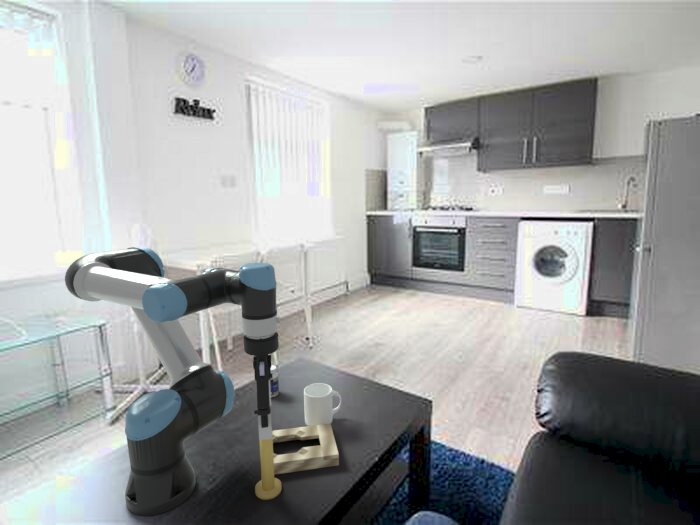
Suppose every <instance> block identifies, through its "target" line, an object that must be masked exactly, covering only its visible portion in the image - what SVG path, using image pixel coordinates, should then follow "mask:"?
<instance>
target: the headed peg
mask: <svg viewBox="0 0 700 525" xmlns="http://www.w3.org/2000/svg"><path fill="white" fill-rule="evenodd" d="M258 440H259V439H258ZM273 453H274V443H273V437H272V439H265V440H259V457H260V458H259V459H260V472H261V473H260V476H261V477H260V478H261V479H260V480H259V481H257V483H256V484H255V486H254V492H255V496H256V497H257V498H258V499H260V500H262V501H268V500H273V499H275V498H276V497H278V496H279V495H281V492H282V481H281V480H280V479H279V478H277V477H275V475H274V458H273Z"/></svg>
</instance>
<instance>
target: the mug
mask: <svg viewBox="0 0 700 525" xmlns="http://www.w3.org/2000/svg"><path fill="white" fill-rule="evenodd" d="M333 397H338V398H339V404H338V406H337V407H335V408H333ZM341 404H342V396H341V394H340V392H338V391H337V390H333V388H332V386H331V385H329V384H327V383H322V382H317V383H311V384H308V385H307V386H305V387H304V388H303V405H304V406H303V407H304V408H303V409H304V413H303V414H304V423H305V426H314V425H322V424H331V425H332V423H333V415H334V414H336V413H338V412H339V410H340V408H341Z"/></svg>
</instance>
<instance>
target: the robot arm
mask: <svg viewBox="0 0 700 525" xmlns="http://www.w3.org/2000/svg"><path fill="white" fill-rule="evenodd" d="M164 267H165V266H164V262H163V261H162V258H161V257H160V255H159V254H157V252H156V251H155V250H153V249H151V248H149V247H145V246H142V247H141V246H140V247H139V246H138V247H134V246H131V247H127V248H125V249H124V248H123V249H116V250H109V251H101V252H92V253H88V254H86V255H82V256H81V257H79V258H77V259H76V260H74V261H73V262H72V263H71V264H70V265H69V267H68V268H67V270H66V271H65V276H64V282H65V287H66V288H67V290H68V292H69V293H70V294H71V295H73V296H74V297H76V298H78V299H79V300H83V301H87V302H99V301H100V302H101V301H107V302H110V303H114V304H118V305H123V306H126V307H130V308H131V309H132V311H133V313H134V315H135V317H136V319H137V321H138V322H139V325H140V326H141V328H142V329H143V331H144V333H145V335H146V337H147V339H148V341H149V342H150V344H151V346H152V348H153V350H154V351H155V353H156V355H157V357H158V359H159V361H160V362H161V365H162V367H163V368H164V370H165V371H166V373H167V375H168V377H169V379H170V383H169V387H168V388H166V389H159V390H158V391H156V390H154V391H151V392H148V393H146V394H144V395H142V396H141V397H139V398H138V399H136V400H135V401H133V403H131V405H130V406H129V407H128V408H127V411H126V414H125V417H124V419H125V420H124V424H125V426H124V432H125V436H126V441H127V449H128V450H127V451H128V456H129V458H128V459H129V464H130V472H129V475H128V479H127V483H126V486H125V488H126V489H125V492H124V493H125V495H124V497H125V505H126V507H127V508H126V509H128V511H130V512H131V513H132V514H135V515H138V516H143V517H144V516H146V515H147V516H148V515H149V516H155V514H156V515H160V514H163V513H165V512H168V511H171V510H173V509H175V508H177V507H179V506H180V505H181V504H182V503H183V502H185V501H186V500H187V499H188V498H189V497H190V496H191V495H192V493H193V491H194V490H195V488H196V483H197V482H196V480H197V479H196V472H195V470H194V468H193V466H192V464H191V461H190V460H189V459H188V456H187V455H186V448H185V442H186V441H187V440H188V439H190V438H191V437H193V436H194V435H196V434H198V433H199V432H202V430H204V429H205V428H207V427H209V426H211V425H212V424H214V423H216V422H218V421H220V420H221V419H222V418H223V417H225V416H226V415H227V414H229V413H230V411H232V409H233V408H234V404H235V398H236V393H235V390H236V389H235V386H234V383H233V380H232V379H231V378H230V376H229V375H228V374H227V373H226V372H224V371H222V370H215V369H214V368H213V366H212V364H211V363H207V362H203V361H202V359H201V357H200V355H199V354H198V352H197V350H196V349H195V347H194V345H193V344H192V342H191V340H190V338H189V337H188V334H187V333H186V331H185V329H184V328H183V326H182V324H181V323H180V321H179V319H180V318H183V317H186V316H189V315H192V314H196V313H199V312H201V311H204V310H207V309H210V308H211V309H212V308H214V307H217V306H220V305H223V304H232V305H238V306H240V307H241V324H242V335H243V350H244V352H245V353H246V355H250V356H253V360H252V366H253V370H254V371H253V373H254V380H255V382H256V401H257V402H256V403H257V404H256V405H257V406H256V408H257V409H256V410H254V412H253V413H254V415H257V427H258V440H265V439H272V431H273V426H272V410H271V406H272V397H271V389H270V379H271V378H272V374H271V365H272V354H273V353H275V352H277V350H279V347H280V345H279V343H280V342H279V333H278V329H279V327H278V322H281V318H280V317H279V316H278V311H277V310H278V308H277V281H276V280H277V279H276V272H275V267H274V266H273V265H272V264H271V263H268V262H250V263H244V264H242V265H241V266H239V269H238V270H236V269H229V268H224V267H210V268H207V269H205V270H204V271H203V272H202V273H201V274H198V275H193V276H189V277H185V278H184V277H183V278H180V279H179V278H178V279H175V278H167V277H165V274H166V272H165V269H164ZM149 516H148V517H149Z"/></svg>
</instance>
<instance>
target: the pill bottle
mask: <svg viewBox="0 0 700 525" xmlns="http://www.w3.org/2000/svg"><path fill="white" fill-rule="evenodd" d="M271 374H272V378H271V379H270V389H271V398H274V397H276V396H278V395H279V392H280V387H279V386H280V385H279V373H278V372H277V366H276V365H275V364H271Z"/></svg>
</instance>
